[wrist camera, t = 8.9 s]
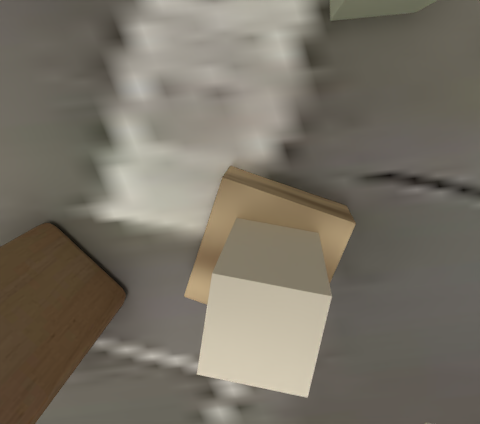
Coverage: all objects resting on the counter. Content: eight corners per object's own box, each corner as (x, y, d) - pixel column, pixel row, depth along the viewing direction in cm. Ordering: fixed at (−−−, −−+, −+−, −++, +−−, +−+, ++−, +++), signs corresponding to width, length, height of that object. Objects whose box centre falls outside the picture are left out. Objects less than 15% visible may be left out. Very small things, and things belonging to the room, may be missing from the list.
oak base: (230, 165, 35) (222, 177, 30) (345, 204, 35) (355, 223, 30) (196, 270, 38) (183, 296, 33) (302, 306, 38) (305, 338, 33)
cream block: (236, 217, 31) (211, 273, 21) (318, 232, 30) (331, 296, 21) (224, 291, 32) (197, 374, 23) (302, 307, 32) (307, 397, 22)
